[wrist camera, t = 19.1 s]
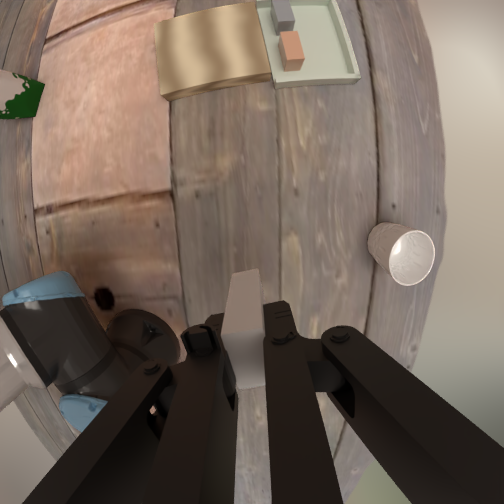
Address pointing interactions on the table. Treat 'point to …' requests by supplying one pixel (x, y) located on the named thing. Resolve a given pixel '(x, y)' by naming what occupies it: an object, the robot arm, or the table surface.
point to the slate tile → (282, 16)
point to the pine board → (210, 51)
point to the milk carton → (18, 95)
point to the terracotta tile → (291, 51)
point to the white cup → (402, 252)
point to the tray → (312, 45)
